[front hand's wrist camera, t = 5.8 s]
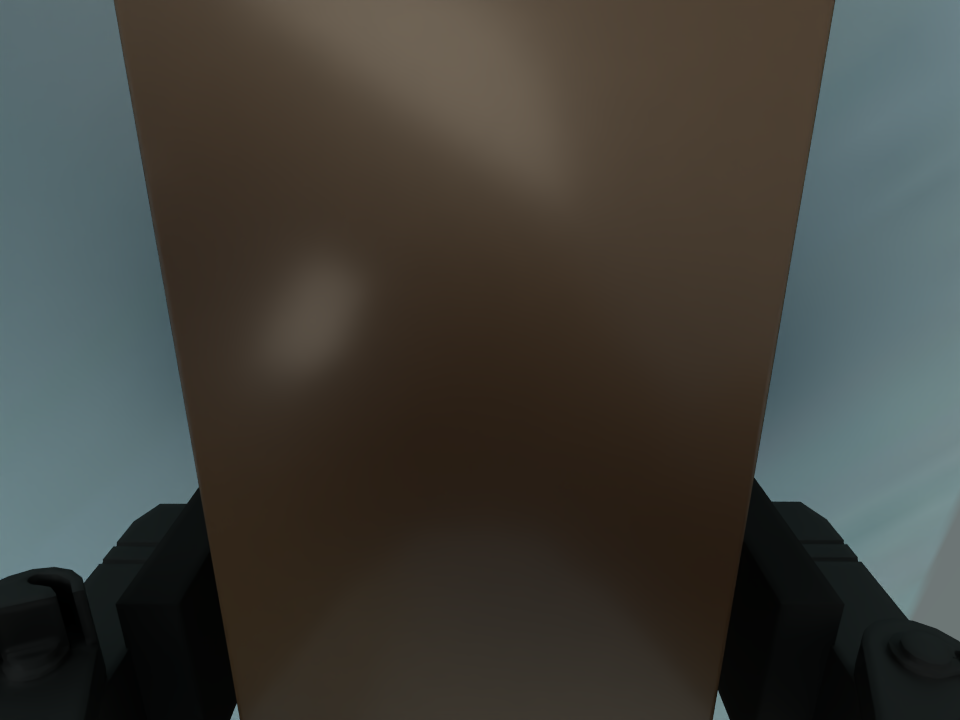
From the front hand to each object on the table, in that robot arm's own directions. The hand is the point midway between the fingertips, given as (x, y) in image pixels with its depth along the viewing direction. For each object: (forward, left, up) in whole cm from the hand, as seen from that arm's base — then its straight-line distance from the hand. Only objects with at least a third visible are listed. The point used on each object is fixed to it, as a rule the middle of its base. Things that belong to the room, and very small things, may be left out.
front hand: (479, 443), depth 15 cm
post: (+25, +11, -1) cm, 27 cm away
